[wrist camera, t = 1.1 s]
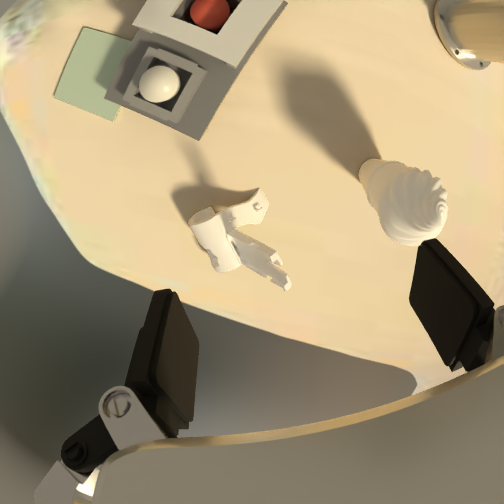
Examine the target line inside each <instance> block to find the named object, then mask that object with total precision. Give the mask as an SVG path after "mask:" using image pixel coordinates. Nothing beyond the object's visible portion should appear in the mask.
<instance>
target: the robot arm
mask: <svg viewBox="0 0 504 504" xmlns="http://www.w3.org/2000/svg"><path fill="white" fill-rule="evenodd" d="M434 20H435V25H436V29H437V32H438V34H439V37H440V39H441V41H442V43H443V45H444V46H445V48H446V49H447V51H448V52H449V53H450V55H451V56H452V57H453V58H454V59H455V60H456V61H457V62H458V63H460V64H461V65H462V66H464V67H466V68H468V69H473V70H482V69H484V68H486V67H488V65H489V64H490V63H491V62H498V63H504V0H437V1H436V4H435V7H434ZM409 301H410V305H411V306H412V308H413V310H414V311H415V313H416V315H417V316H418V318H419V320H420V321H421V323H422V325H423V326H424V328H425V330H426V331H427V333H428V335H429V337H430V338H431V340H432V342H433V344H434V345H435V347H436V349H437V351H438V353H439V355H440V356H441V358H442V360H443V362H444V364H445V365H446V366H449V367H450V369H451V371H452V372H453V371H455V370H458V369H460V368H462V367H464V369H465V374H463V375H461V376H458V377H456V378H454V379H452V380H450V381H447V382H445V383H443V384H440V385H438V386H435V387H433V388H430V389H428V390H425V391H423V392H420V393H418V394H415V395H412V396H409V397H407V398H404V399H401V400H398V401H395V402H392V403H389V404H386V405H383V406H379V407H376V408H373V409H369V410H366V411H362V412H359V413H355V414H351V415H347V416H344V417H339V418H335V419H330V420H326V421H321V422H317V423H312V424H307V425H301V426H296V427H290V428H284V429H277V430H270V431H262V432H253V433H244V434H233V435H221V436H205V437H186V438H178V437H177V435H178V431H179V429H188V428H189V422H191V421H193V416H194V402H195V389H196V376H197V365H198V355H199V341H198V338H197V336H196V334H195V332H194V330H193V327H192V325H191V323H190V321H189V319H188V317H187V315H186V313H185V310H184V308H183V306H182V304H181V301H180V299H179V297H178V295H177V293H176V292H172V291H171V289H163V290H157V291H155V292H154V294H153V297H152V301H151V303H150V307H149V310H148V313H147V316H146V320H145V323H144V327H142V328H141V329H140V331H139V334H138V338H137V341H136V344H135V348H134V351H133V355H132V359H131V362H130V366H129V370H128V374H127V377H126V381H125V386H117V387H113V388H112V389H109V390H108V391H107V392H106V393H105V394H104V395H103V396H102V398H101V400H100V403H99V413H100V414H99V415H98V416H97V417H95V418H94V419H93V420H92V421H90V422H89V423H88V424H86V425H85V426H84V427H82V428H81V429H80V430H78V431H77V432H76V433H74V434H73V435H72V436H70V437H69V438H68V439H67V440H66V441H65V442H64V444H63V446H62V450H61V458H62V460H61V462H59V461H57V462H56V463H55V464H54V466H53V467H52V468H51V470H50V471H49V472H48V474H47V475H46V477H45V478H44V479H43V480H42V482H41V483H40V485H39V486H38V487H37V489H36V491H35V493H34V502H35V504H504V305H503V306H500V307H498V308H497V309H496V311H495V309H494V308H493V306H494V302H493V301H492V300H491V299H490V297H489V296H488V295H487V294H486V292H485V291H484V290H483V289H482V288H481V286H480V285H479V284H478V283H477V282H476V281H475V279H474V278H473V277H472V276H471V275H470V274H469V273H468V272H467V270H466V269H465V268H464V267H463V266H462V265H461V264H460V263H459V262H458V261H457V259H456V258H455V257H454V256H453V255H452V254H451V253H450V252H449V251H448V250H447V249H446V248H445V247H444V246H443V245H442V244H441V243H440V242H439V241H438V240H437V239H435V238H433V239H429V240H424V241H422V243H421V245H420V246H419V247H418V251H417V258H416V264H415V270H414V275H413V281H412V286H411V291H410V295H409Z"/></svg>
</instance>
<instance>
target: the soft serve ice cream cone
mask: <svg viewBox="0 0 504 504" xmlns="http://www.w3.org/2000/svg"><path fill="white" fill-rule="evenodd" d="M359 180H360V183H361V185H362V187H363V189H364V190H365V192H366V194H367V199H368V201H369V203H370V205H371V206H372V207H373V208H374V209H375V210H376V211H377V214H378V216H379V220H380V223H381V226H382V228H383V230H384V232H385V233H386V235H387V236H388V237H390V238H391V239H392V240H393V241H395V242H397V243H400V244H404V245H407V246H419V245H421V243H422V241H424V240H429V239H433V238H435V237H436V236H437V235H438V234H439V233H440V232H441V230H442V228H443V226H444V223H445V222H446V219H447V210H448V204H447V203H446V202H445V200H446V197H447V191H446V190H445V189H443V188H442V186H441V180H440V178H438V177H435V178H432V175H431V173H430V171H429V170H424V171H422V172H421V171H420V169H418V168H413V167H408V166H406V165H404V164H403V163H401V162H398V161H386V160H380V159H369V160H367V161H365V162H364V163H363V164H362V166H361V167H360V170H359Z"/></svg>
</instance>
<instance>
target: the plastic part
mask: <svg viewBox="0 0 504 504" xmlns="http://www.w3.org/2000/svg"><path fill="white" fill-rule="evenodd" d="M268 205H269V201H268V199H267V198H266V196H265V195H264V193H263V192H262V191H261V189H260V188H259V189H258V190H257V191H256V192H255V193H254V195H253V196H252V197H251V198H250V199H249V200H247V201H245V202H242V203H239V204H236V205H232V206H229V207H227V208H224V209H222V210H221V211H219V212H218V213H216V214H215V212H214V210H213V208H212V206H210V207H208V208H206V209H203V210H201V211H199V212H197V213H195V214H194V215H193V216H192V217H191V218H190V219H189V221H188V224H189V226H190V228H191V229H192V231H193V233H194V235H195V236H196V238H197V240H198V242H199V243H200V245H201V246H203V247H204V249H206V250H207V253H208V256H209V257H210V259H211V264H212V266H213V268H214V269H215V271H216V272H220V273H223V272H228V271H231V270H233V269H235V268H237V267H239V266H240V265H241V264H243V265H245V266H246V267H248V268H250V269H251V270H253V271H255V272H256V273H258V274H260V275H261V276H263V277H265V278H267V277H268V276H271V277H273V279H271V280H270V281H271V282H273V283H275V284H277V285H278V286H280V287H282V288H283V289H284V291H287V290H288V289H289V288H291V287H292V284H291V282H290V279H289V277H288V275H287V274H286V273H285V272H284V271H282V270H281V269H279V268H278V267H276V266H274V265H273V264H271V263H270V262H272V263H275V264H277V265H281V264H283V263H282V261H281V259H280V257H279V255H278V253H277V251H275V250H274V249H272V248H270V247H269V246H267V245H265V244H263V243H261V242H259V241H257V240H255V239H253V238H251V237H250V236H248V235H246V234H244V233H242V232H240V231H238V230H236V229H234V228H237V227H239V226H241V225H244V224H260V223H261V222H262V220H263V218H264V215H265V213H266V210H267V208H268ZM269 261H270V262H269Z"/></svg>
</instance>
